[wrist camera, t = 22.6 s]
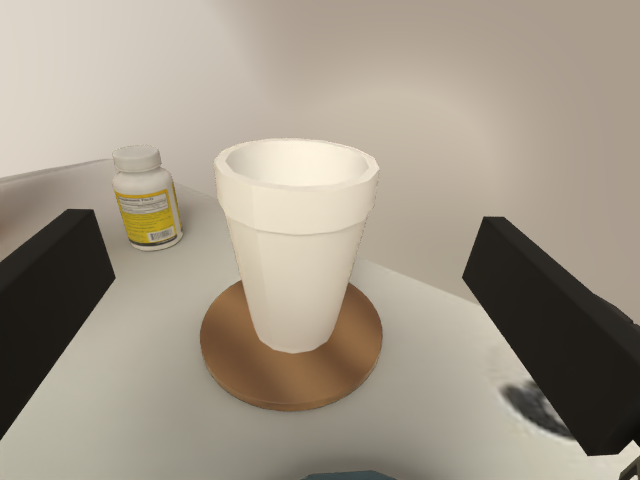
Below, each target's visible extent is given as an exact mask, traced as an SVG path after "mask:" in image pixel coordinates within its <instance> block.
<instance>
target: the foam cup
mask: <svg viewBox="0 0 640 480" xmlns="http://www.w3.org/2000/svg"><path fill="white" fill-rule="evenodd" d="M214 170H215V179H216V188H217V197H218V201H219V203H220V205H221V207H222V208H223V210H224V212H225V216H226V220H227V224H228V228H229V232H230V236H231V240H232V244H233V248H234V252H235V256H236V260H237V264H238V268H239V271H240V275H241V279H242V283H243V287H244V291H245V295H246V299H247V303H248V307H249V311H250V315H251V319H252V322H253V324H254V328H255V331H256V333H257V335H258V337H259V339H260V340H261V341H262V342H263V343H265V344H266V345H268V346H269V347H271V348H272V349H273V350H277V351H282V352H287V353H292V354H294V353H300V352H306V351H312V350H314V349H316V348H317V347H319V346H320V345H322V344H324V343H325V342H327V341H328V339H329V337H330V335H331V334H332V332H333V330H334V328H335V324H336V322H337V319H338V315H339V312H340V309H341V305H342V302H343V298H344V295H345V292H346V288H347V285H348V281H349V278H350V275H351V271H352V268H353V265H354V261H355V258H356V254H357V251H358V247H359V244H360V241H361V237H362V234H363V231H364V227H365V224H366V220H367V217H368V214H369V212H370V211H371V210H372V208H373V207H374V203H375V197H376V190H377V184H378V177H379V171H380V169H379V167H378V165H377V163H376V161H375V159H374V157H372V156H370V155H368V154H366V153H364V152H362V151H360V150H358V149H356V148H353V147H350V146H346V145H341V144H338V143H334V142H330V141H321V140H312V139H303V138H279V139H278V138H276V139H264V140H257V141H251V142H243V143H240V144H238V145H235V146H233V147H230V148H227V149H225V150H222V151H221V152H220V154H219V155H218V156H217V158H216V159H215V160H214Z"/></svg>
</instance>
